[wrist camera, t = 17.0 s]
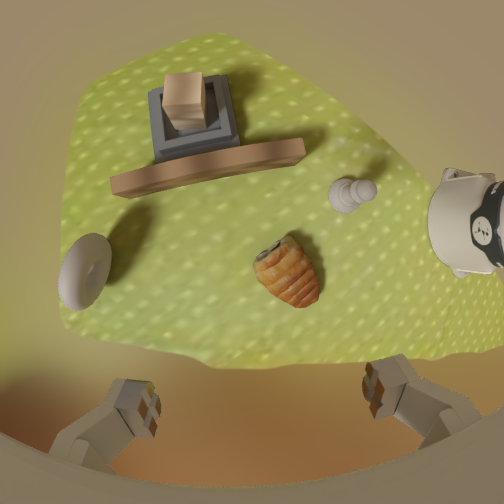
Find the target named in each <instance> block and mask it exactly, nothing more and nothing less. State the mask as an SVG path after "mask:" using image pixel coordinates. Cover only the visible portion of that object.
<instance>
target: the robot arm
mask: <svg viewBox="0 0 504 504" xmlns="http://www.w3.org/2000/svg"><path fill="white" fill-rule="evenodd" d="M428 231H429V237H430V241H431V244H432V247H433V249H434V251H435V253H436V255H437V256H438V258H439V259H440V260H441V261H442V262H443V263H445V264H446V265H448V266H449V267H450V268H451V269H452V271H453V272H454V274H455V276H456V277H457V278H464V277H466V276H467V275H468V274H470V273H471V272H474V273H482V274H491V272H492V271H494V270H495V269H496V268H497V267H501V268H503V269H504V181H501V182H495V175H494V174H492V173H486V174H485V173H481V174H479V175H476V174H472V173H469V172H465V171H461V170H458V169H454V168H446V169H445V170H444V172H443V176H442V181H441V184H440V186H439V187H438V188H437V190H436V191H435V193H434V195H433V197H432V199H431V202H430V206H429V212H428ZM365 371H366V373H367V374H366V375H365V376H364V377H363V381H362V391H363V395H364V397H365V400H367V401H369V402H370V406H369V409H370V411H371V413H372V416H373V418H374V420H376V419H379V418H383V417H387V416H391V415H394V416H395V417H396V418H398V419H399V420H401V421H402V422H403V423H405V424H406V425H408V426H409V427H410V428H412V429H413V430H415V431H416V432H418V433H419V434H421V435H422V436H424V437H425V439H424V440H423V442H422V443H421V445H420V446H419V448H418V450H417V451H415V452H412V453H410V454H407V455H405V456H402V457H399V458H396V459H393V460H390V461H388V462H384V463H382V464H378V465H375V466H372V467H368V468H365V469H361V470H357V471H353V472H349V473H346V474H341V475H336V476H331V477H326V478H322V479H316V480H310V481H303V482H297V483H288V484H280V485H269V486H257V487H256V486H255V487H198V486H184V485H173V484H165V483H156V482H150V481H144V480H138V479H132V478H127V477H122V476H118V475H117V474H116V472H115V471H114V470H113V469H112V468H111V467H110V466H109V465H108V464H109V463H110V462H111V461H112V460H113V459H114V458H115V457H116V456H117V455H118V454H119V453H120V452H121V451H122V450H123V449H124V448H125V447H126V446H127V445H128V444H129V443H130V442H131V441H132V440H133V439H134V437H144V438H154V437H155V433H156V429H157V424H156V422H155V421H156V420H157V419H158V418H159V417H160V414H161V402H160V399H159V396H158V395H157V394H156V393H154V389H155V387H154V385H153V383H152V382H151V381H142V380H131V379H119V378H117V379H115V380H114V381H113V383H112V385H111V387H110V389H109V391H108V393H107V396H106V398H105V400H104V402H103V404H102V406H98V407H96V408H95V409H93V410H92V411H90V412H89V413H87V414H86V415H84V416H83V417H81V418H80V419H78V420H77V421H75V422H74V423H72V424H71V425H69V426H68V427H66V428H64V429H63V430H61V431H60V432H59V433H58V435H57V437H56V439H55V441H54V443H53V445H52V447H51V449H50V451H49V453H48V454H46V453H44V452H41V451H39V450H36V449H34V448H32V447H29V446H27V445H25V444H23V443H21V442H19V441H17V440H15V439H12V438H11V437H9V436H7V435H5V434H3V433H1V432H0V504H504V405H502V406H501V407H499V408H498V409H496V410H495V411H493V412H492V413H490V414H489V415H487V416H485V417H484V418H482V416H481V415H480V413H479V412H478V410H477V409H476V408H475V406H474V405H473V403H472V402H471V401H470V399H469V398H468V397H465V396H463V395H461V394H458V393H456V392H454V391H451V390H449V389H447V388H445V387H442V386H440V385H438V384H436V383H433V382H431V381H429V380H427V379H425V378H423V379H420V377H419V376H418V374H417V373H416V371H415V370H414V368H413V367H412V366H411V364H410V363H409V361H408V360H407V358H406V357H405V356H404V355H403V354H399V355H395V356H391V357H387V358H383V359H379V360H375V361H371V362H367V364H366V367H365Z"/></svg>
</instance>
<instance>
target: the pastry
mask: <svg viewBox="0 0 504 504" xmlns="http://www.w3.org/2000/svg"><path fill="white" fill-rule="evenodd" d="M253 268H254V270H255V272H256V275H257V278H258V280H259V282H260V283H261V284H263V285H264V286H265V288H267V289H268V291H269V292H270V293H271V294H273V295H275V296H276V297H277V298H279V299H281V300H283V301H284V302H286V303H289V304H290V305H292V306H293V307H295V308H305V307H307V306H309V305H311V304H312V303H315V302H316V301H318V298H319V293H320V287H319V284H318V278H317V275H316V273H315V270H314V269H313V267H312V262H311V259H310V258H309V257H307V256H306V254H305V253H304V250H303V248H302V247H301V246H300V245H299V244H297V243H296V242H295V240H294V238H293V237H292V236H285V237H284V238H282V239H281V240H279V241H277V242H276V243H274V244H273V245H272V246H271V247H270V248H269V249H268V251H266V252H263V253H261V254H259V255H258V256H257V257H256V258H255V260H254V263H253Z"/></svg>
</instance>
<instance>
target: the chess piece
mask: <svg viewBox="0 0 504 504" xmlns="http://www.w3.org/2000/svg"><path fill="white" fill-rule="evenodd" d="M376 194H377V188H376V185H375V184H374V183H373V182H372V181H371V180H368V179H364V180H357V181H355V182H354V181H353V180H350V179H338V180H336V181H335V182H334V183H333V184H332V185H331V187H330V189H329V200H330V203H331V205H332V206H333V208H334V209H335V210H337V211H338V212H341V213H350V212H353V211H354V210H356V209H357V208H358V207H359V206H360V204H363V203H366V202H367V201H371V200H373V199H374V198H375V196H376Z"/></svg>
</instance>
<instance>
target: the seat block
mask: <svg viewBox="0 0 504 504" xmlns="http://www.w3.org/2000/svg"><path fill="white" fill-rule="evenodd" d="M203 79H204V85H205V90H206V96H207V101H208V105H207V129H191V130H177V131H176V130H175V128H174V126H173V124H172V123H171V121H170V119H169V117H168V116H167V114H166V112H165V110H164V109H163V107H162V102H163V92H164V86H163V87H159V88H156V89H152V91H150V92H148V101H149V111H150V121H151V131H152V139H153V147H154V155H155V162H156V164H159V163H163V162H167V161H171V160H175V159H180V158H184V157H188V156H193V155H197V154H202V153H207V152H212V151H217V150H222V149H228V148H233V147H239V146H241V145H240V140H239V135H238V130H237V125H236V120H235V115H234V110H233V105H232V100H231V95H230V90H229V86H228V81H227V76H226V75H222V76H220V75H214V76H208V77H203Z"/></svg>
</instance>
